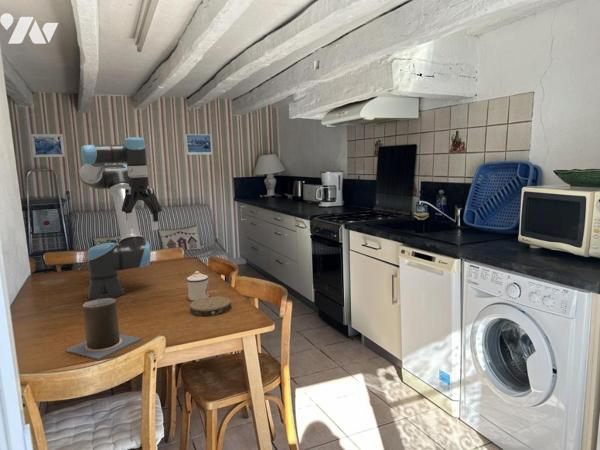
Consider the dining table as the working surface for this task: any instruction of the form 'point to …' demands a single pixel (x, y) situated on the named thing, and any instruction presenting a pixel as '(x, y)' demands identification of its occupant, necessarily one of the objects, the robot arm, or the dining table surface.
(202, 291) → the teacup with lid
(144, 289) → the dining table surface
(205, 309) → the wood log slice
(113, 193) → the robot arm
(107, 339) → the pillar candle
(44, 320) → the dining table surface
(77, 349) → the mat
